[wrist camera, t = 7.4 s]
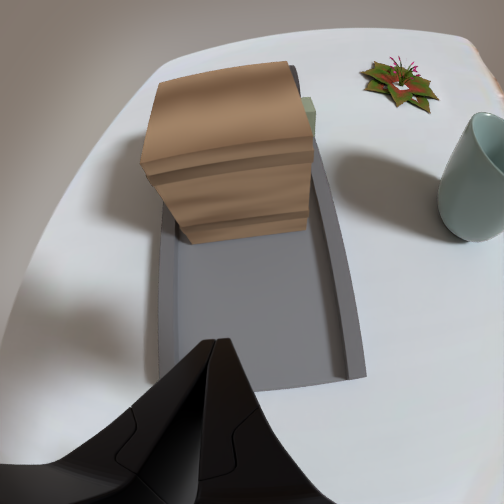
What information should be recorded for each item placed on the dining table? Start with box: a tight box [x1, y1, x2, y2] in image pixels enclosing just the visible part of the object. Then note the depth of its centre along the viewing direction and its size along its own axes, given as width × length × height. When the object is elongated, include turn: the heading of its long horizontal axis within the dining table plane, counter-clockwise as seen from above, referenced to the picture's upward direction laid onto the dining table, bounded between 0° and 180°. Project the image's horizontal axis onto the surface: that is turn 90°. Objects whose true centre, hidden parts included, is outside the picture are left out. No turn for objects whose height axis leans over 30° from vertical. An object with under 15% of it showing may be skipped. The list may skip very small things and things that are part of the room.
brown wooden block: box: [140, 61, 314, 245], centre depth 20 cm, size 8×9×10 cm
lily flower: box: [361, 56, 439, 114], centre depth 30 cm, size 12×12×5 cm
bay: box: [158, 65, 367, 392], centre depth 20 cm, size 24×14×9 cm, turn 5°
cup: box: [437, 112, 504, 242], centre depth 18 cm, size 8×8×10 cm
